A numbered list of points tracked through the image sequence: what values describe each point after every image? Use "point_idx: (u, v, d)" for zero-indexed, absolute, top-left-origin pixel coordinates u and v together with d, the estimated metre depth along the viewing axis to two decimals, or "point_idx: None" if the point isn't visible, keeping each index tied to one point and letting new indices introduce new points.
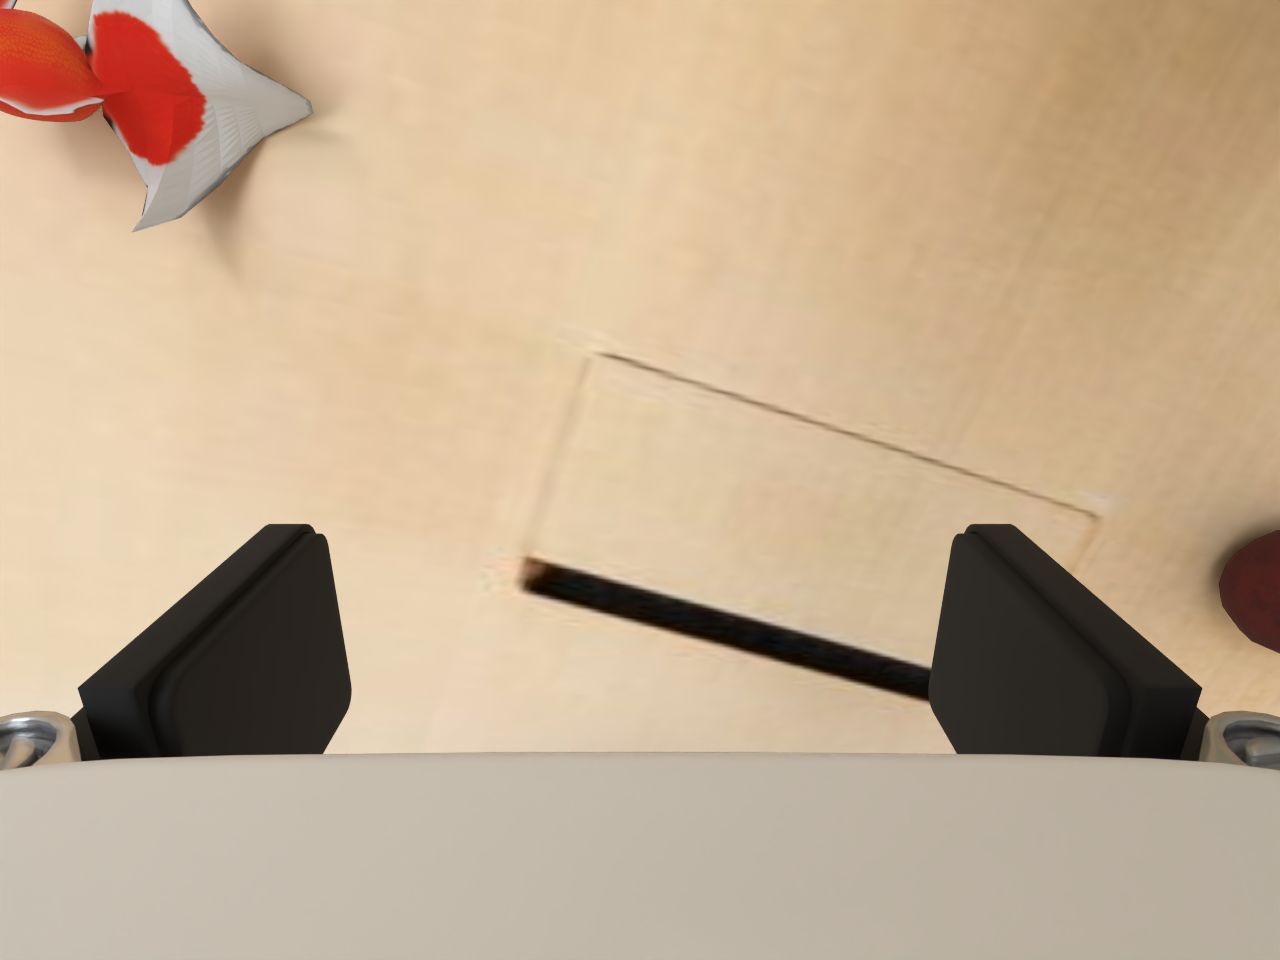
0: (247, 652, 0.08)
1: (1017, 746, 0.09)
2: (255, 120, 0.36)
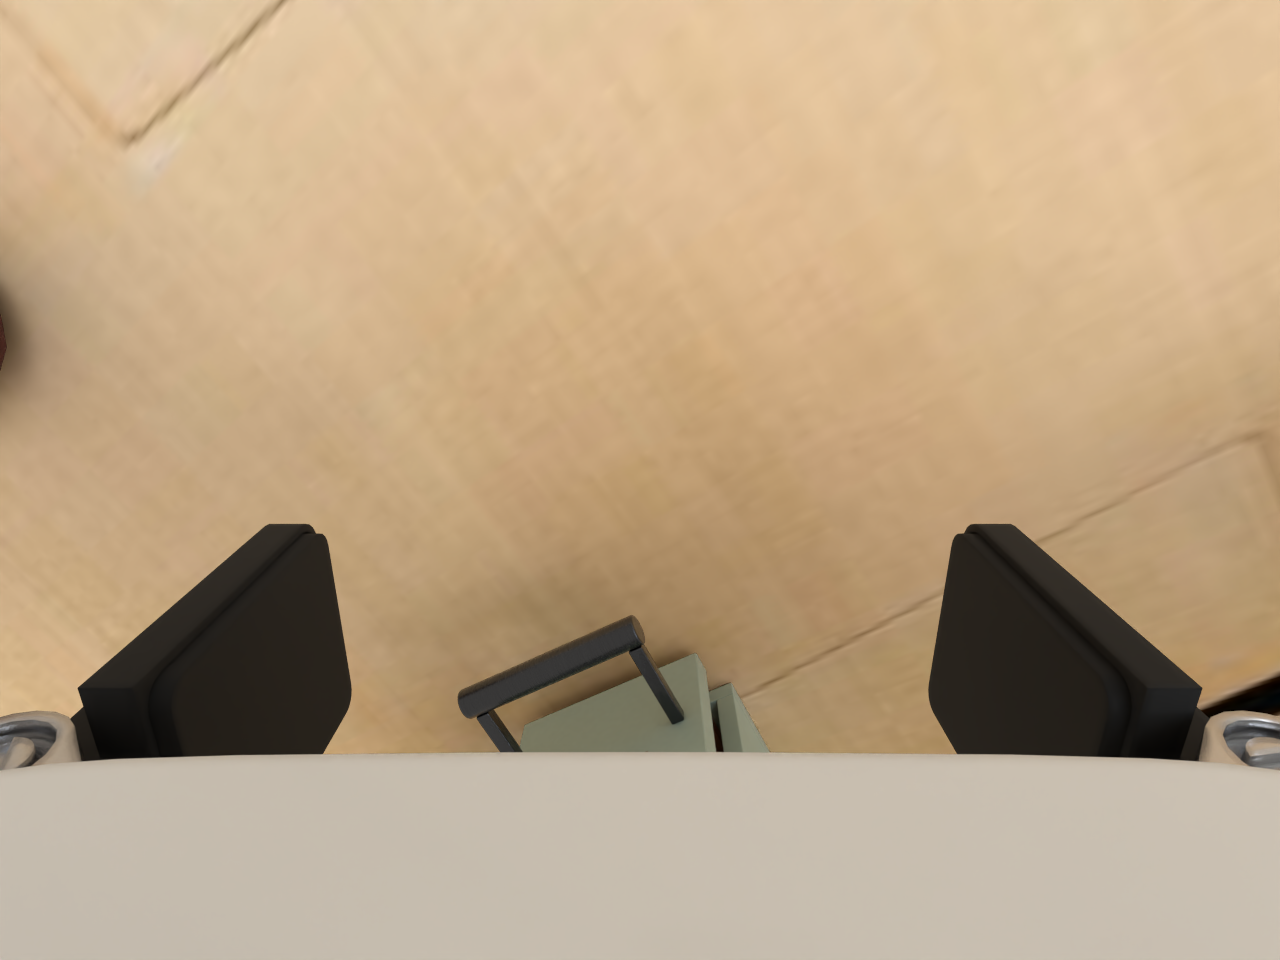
0: (247, 652, 0.08)
1: (1017, 746, 0.09)
2: None
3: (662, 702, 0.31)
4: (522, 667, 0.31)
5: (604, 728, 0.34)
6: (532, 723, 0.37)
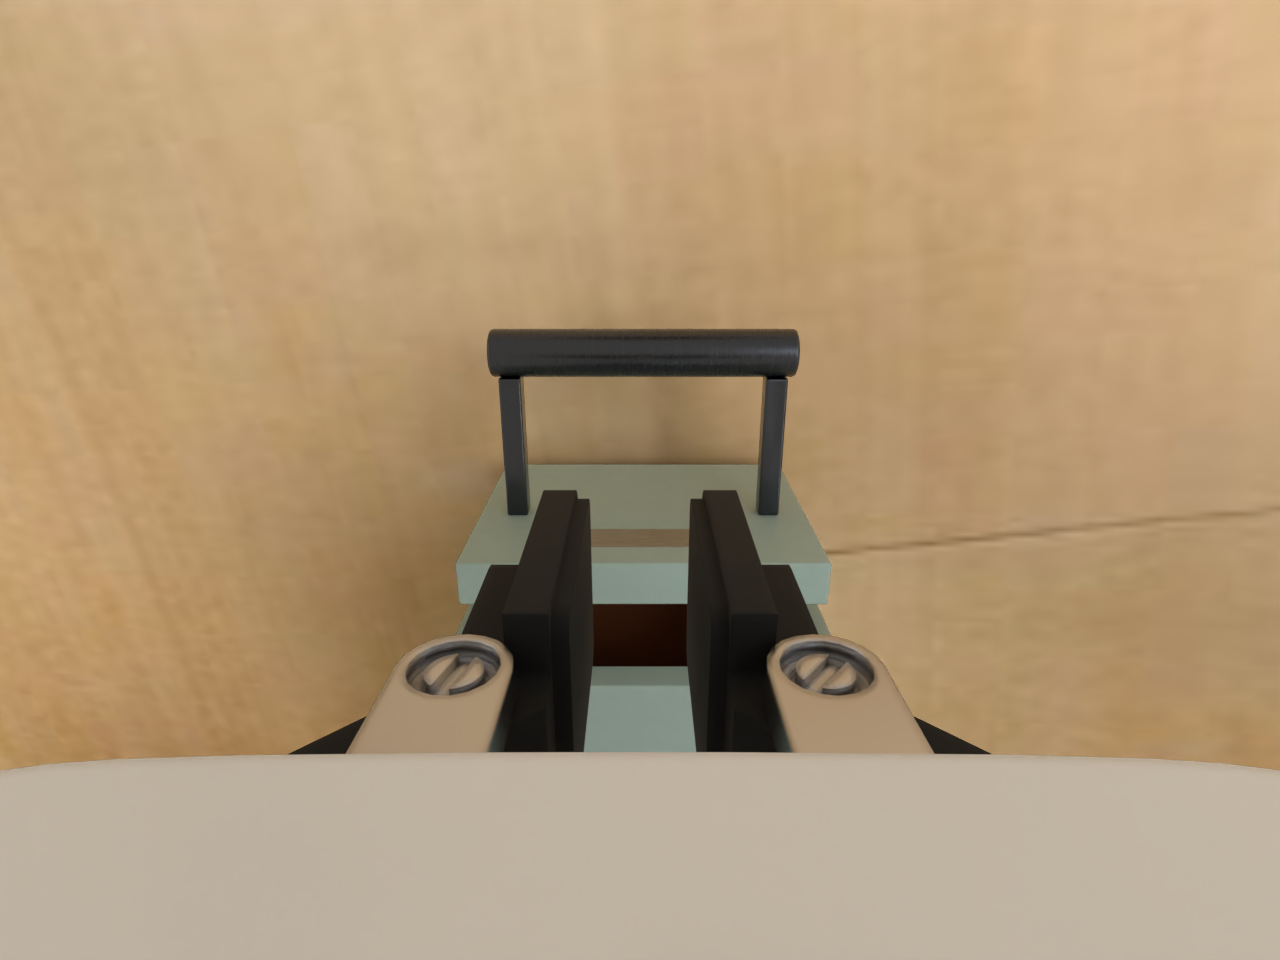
0: (579, 595, 0.10)
1: (699, 680, 0.10)
2: None
3: (766, 475, 0.21)
4: (608, 331, 0.20)
5: (641, 494, 0.23)
6: None
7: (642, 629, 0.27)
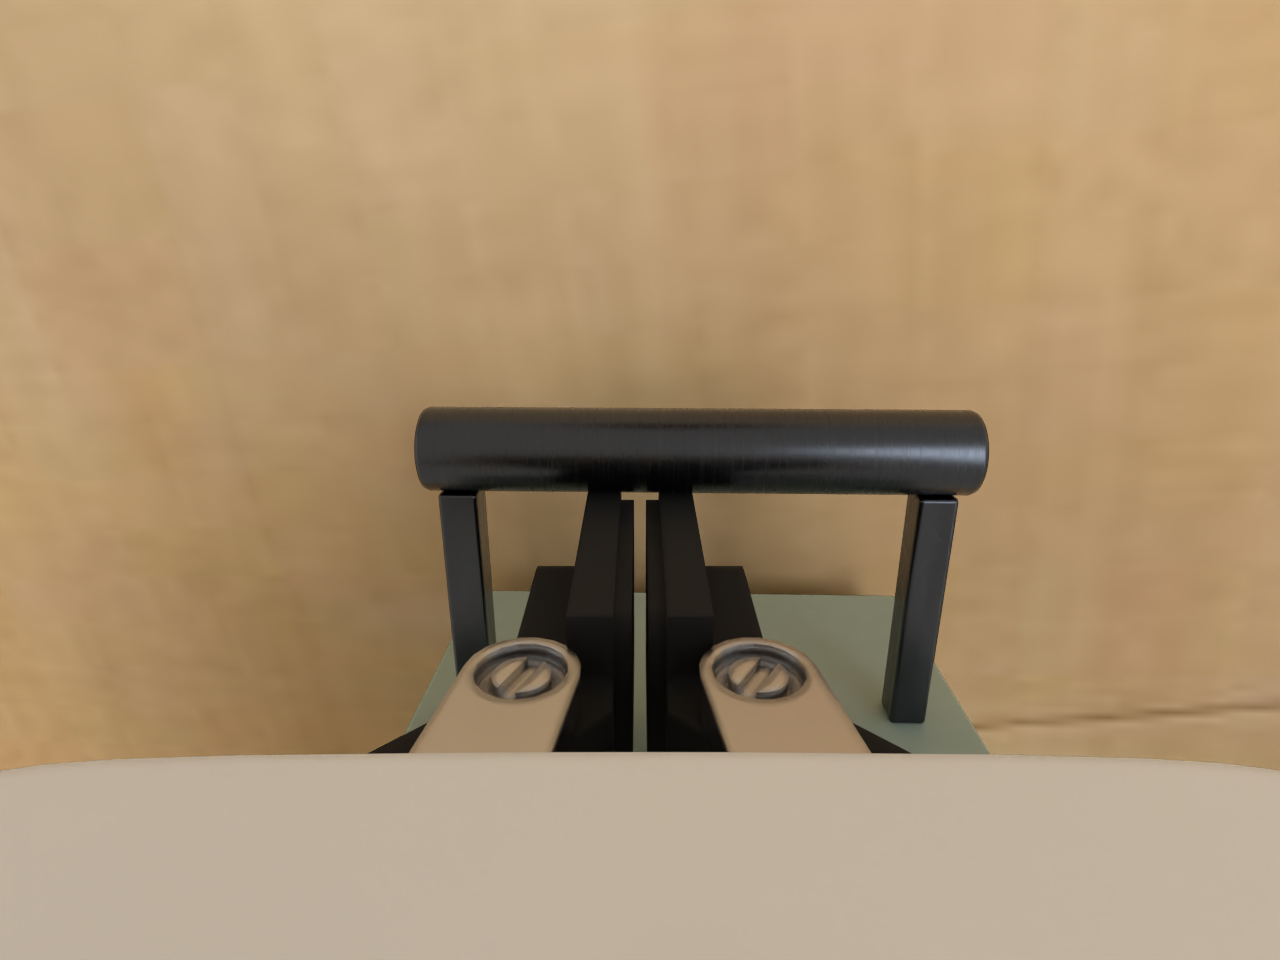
0: (632, 597, 0.10)
1: None
2: None
3: (908, 660, 0.12)
4: (635, 414, 0.11)
5: None
6: (495, 593, 0.17)
7: None
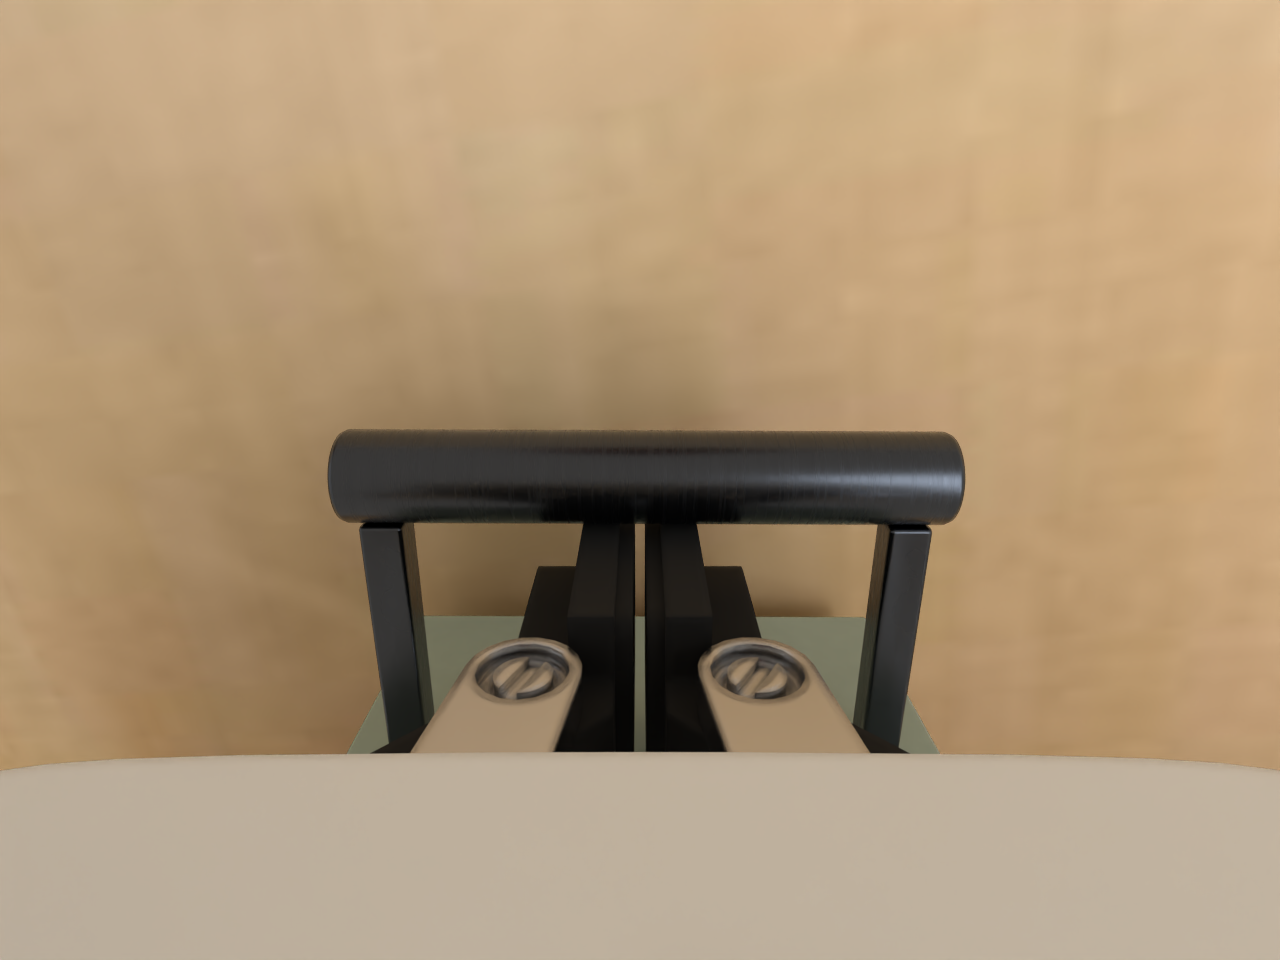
0: (634, 597, 0.10)
1: None
2: None
3: (878, 700, 0.11)
4: (576, 438, 0.10)
5: (641, 701, 0.13)
6: (441, 619, 0.16)
7: None
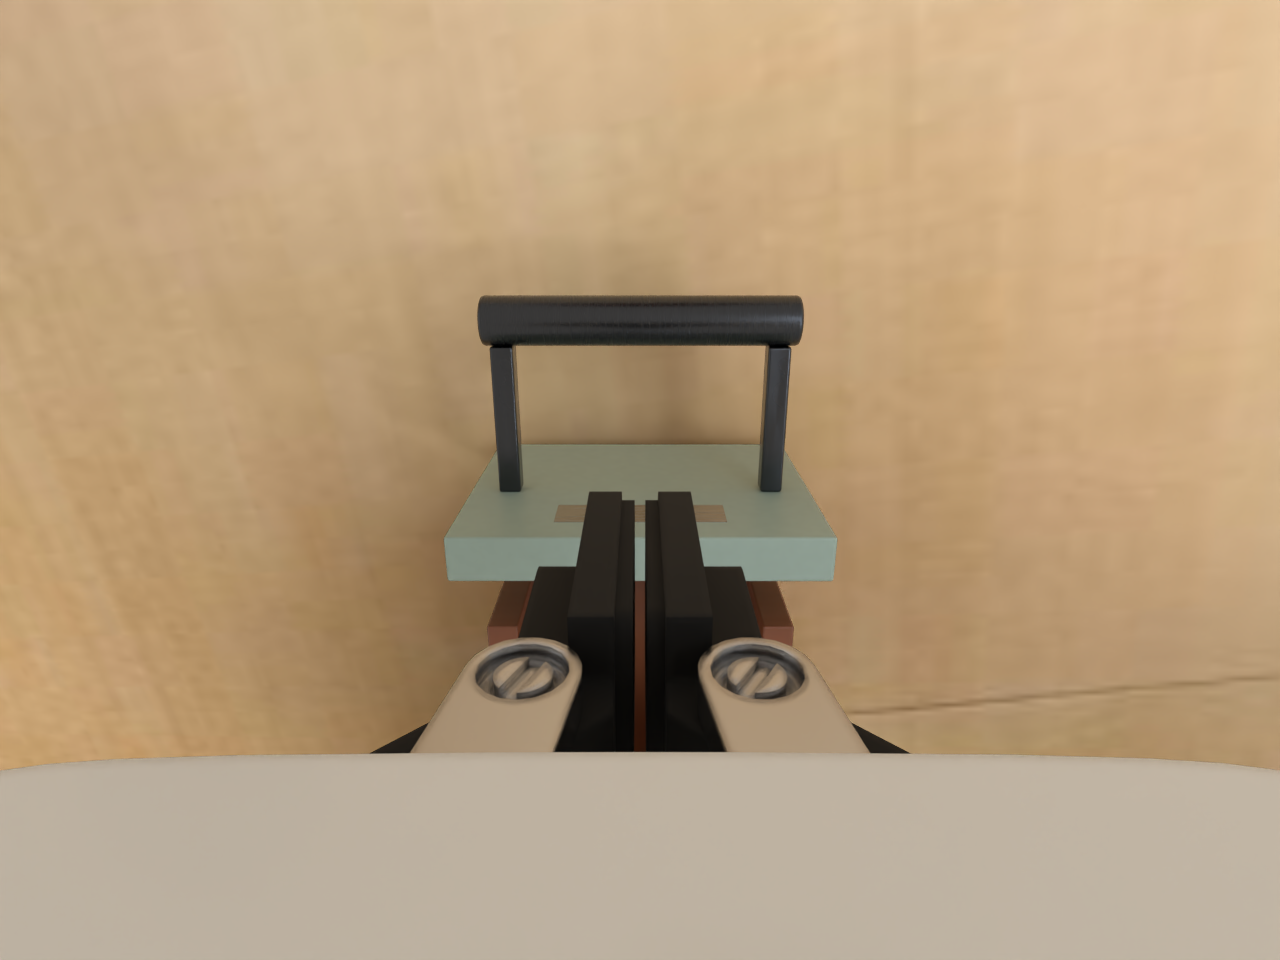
0: (634, 597, 0.10)
1: None
2: None
3: (768, 449, 0.20)
4: (604, 297, 0.19)
5: (639, 472, 0.22)
6: None
7: (640, 615, 0.26)
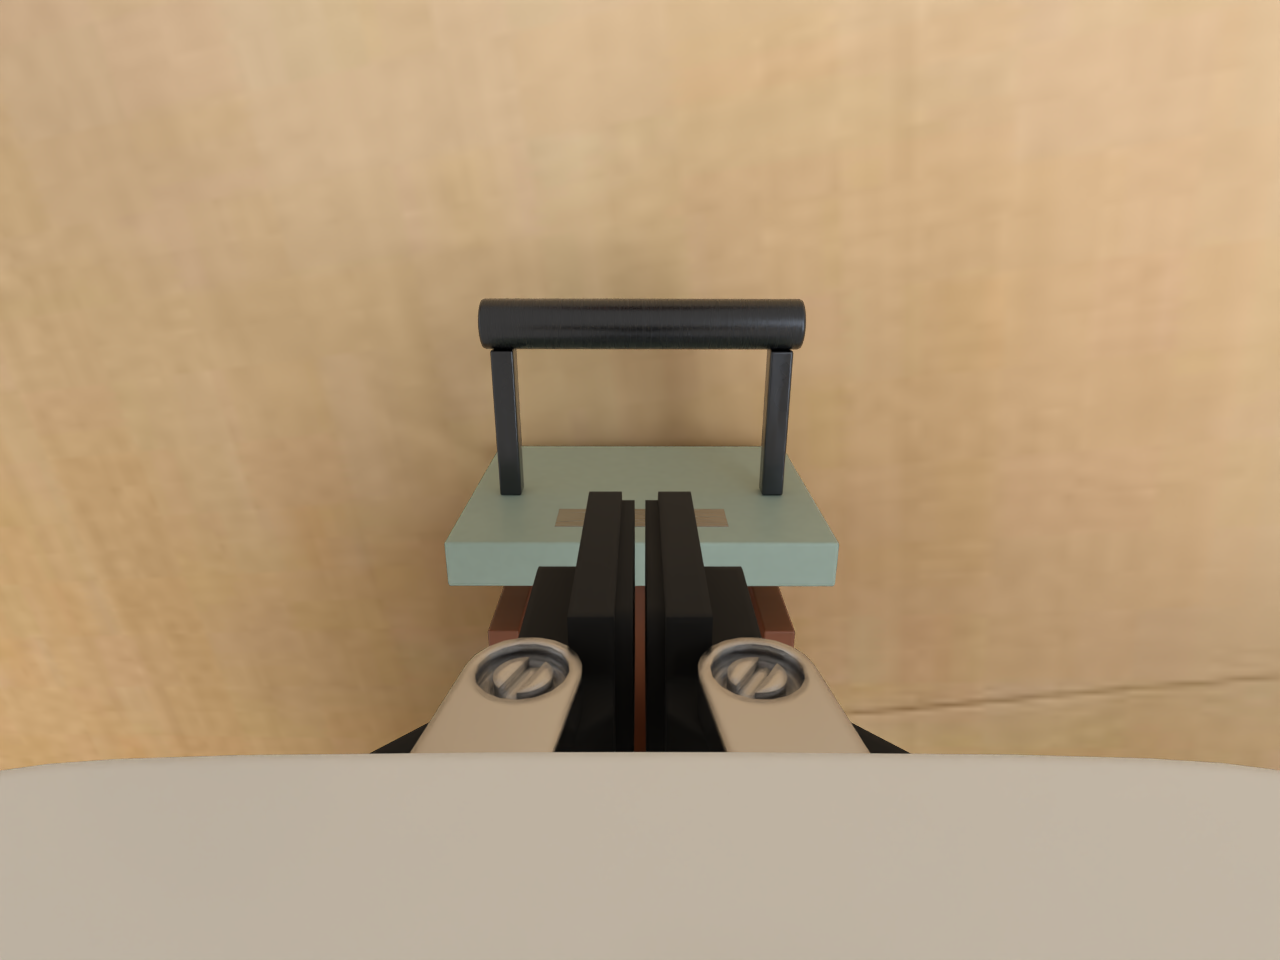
0: (634, 597, 0.10)
1: None
2: None
3: (770, 453, 0.20)
4: (605, 301, 0.19)
5: (640, 475, 0.22)
6: None
7: (640, 617, 0.26)
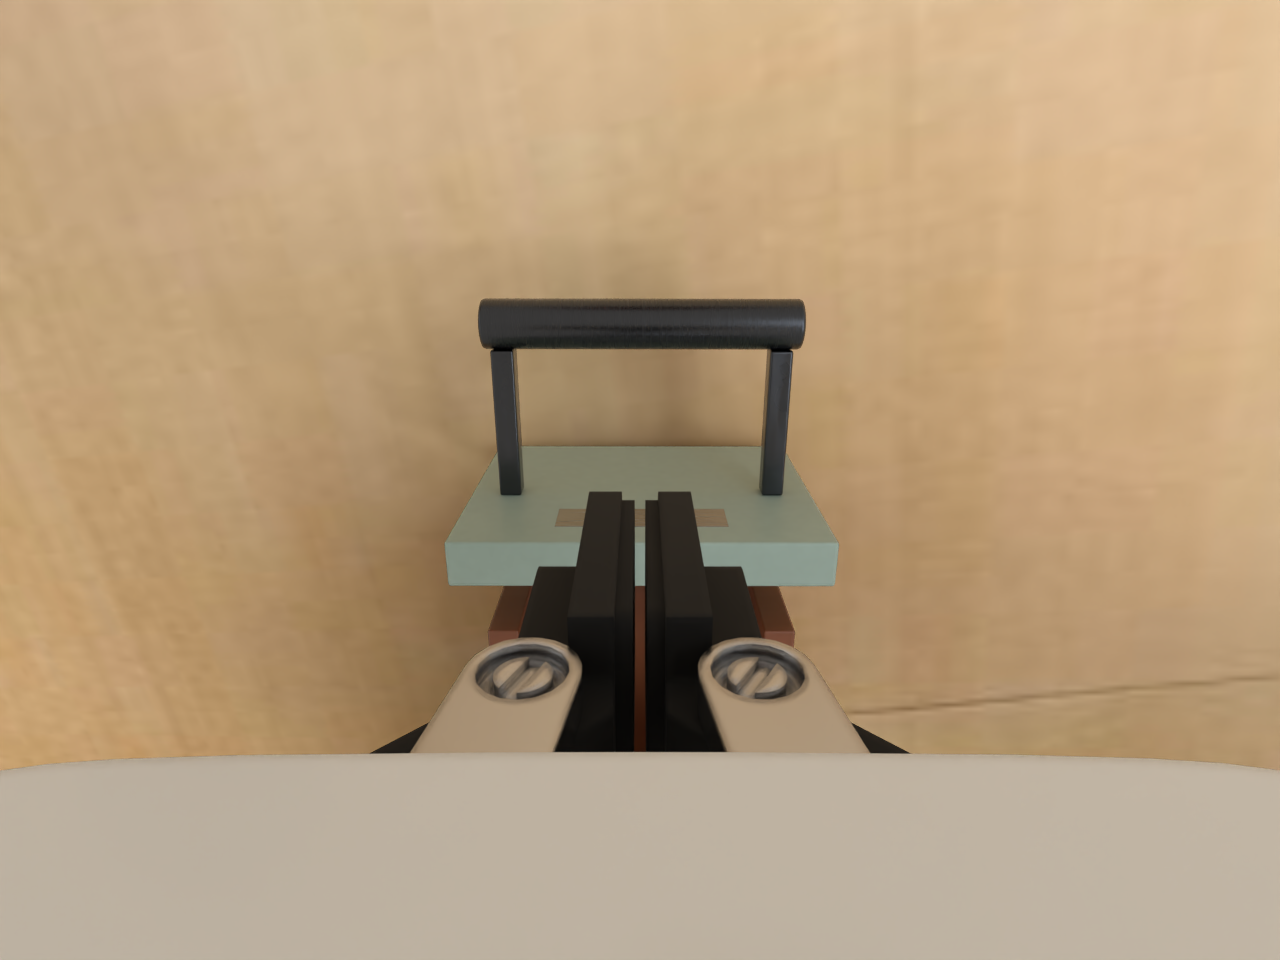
0: (634, 597, 0.10)
1: None
2: None
3: (770, 453, 0.20)
4: (605, 301, 0.19)
5: (640, 475, 0.22)
6: None
7: (640, 617, 0.26)
